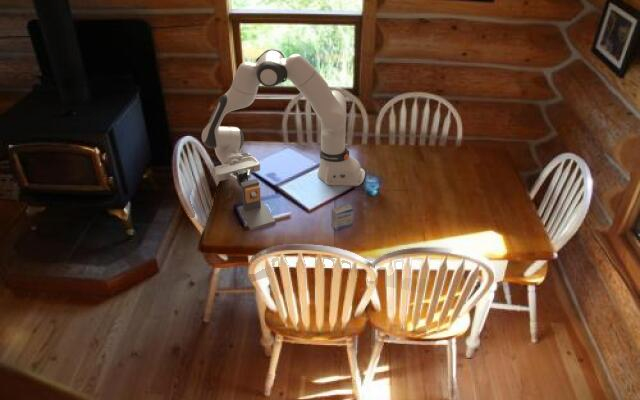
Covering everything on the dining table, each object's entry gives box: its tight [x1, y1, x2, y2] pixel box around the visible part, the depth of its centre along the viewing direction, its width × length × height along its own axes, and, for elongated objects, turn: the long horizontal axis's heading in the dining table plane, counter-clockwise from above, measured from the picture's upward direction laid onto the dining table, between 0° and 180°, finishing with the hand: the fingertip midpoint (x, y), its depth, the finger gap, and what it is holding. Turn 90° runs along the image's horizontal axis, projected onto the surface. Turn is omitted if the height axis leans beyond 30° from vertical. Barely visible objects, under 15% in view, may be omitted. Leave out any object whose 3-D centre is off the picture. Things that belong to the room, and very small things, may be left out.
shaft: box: [236, 169, 257, 198], centre depth 221 cm, size 16×4×6 cm, turn 26°
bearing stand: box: [237, 178, 277, 232], centre depth 217 cm, size 16×11×14 cm
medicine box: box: [330, 203, 354, 231], centre depth 215 cm, size 8×4×9 cm, turn 117°
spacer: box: [245, 184, 262, 203], centre depth 218 cm, size 2×6×6 cm, turn 116°
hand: (243, 178), depth 225 cm, fingers closed on shaft, 4 cm apart
